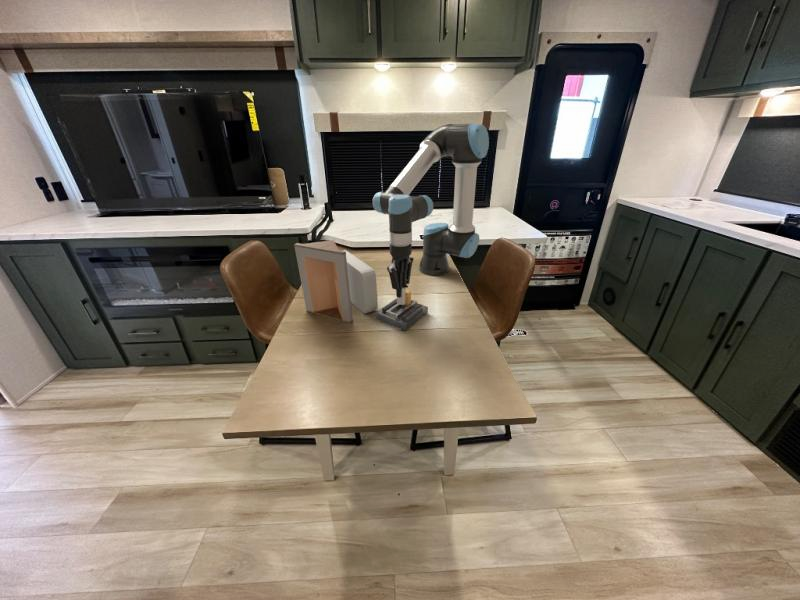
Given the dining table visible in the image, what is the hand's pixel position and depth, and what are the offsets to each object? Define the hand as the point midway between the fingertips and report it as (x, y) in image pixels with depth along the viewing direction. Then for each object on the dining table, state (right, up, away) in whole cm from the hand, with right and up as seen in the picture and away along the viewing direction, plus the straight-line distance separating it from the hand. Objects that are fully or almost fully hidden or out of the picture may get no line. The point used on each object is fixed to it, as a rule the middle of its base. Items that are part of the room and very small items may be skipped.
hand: (401, 303), depth 117 cm
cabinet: (-26, -4, +7) cm, 28 cm away
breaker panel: (0, -5, +3) cm, 6 cm away
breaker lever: (+2, -1, +4) cm, 5 cm away
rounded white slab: (-19, +1, +16) cm, 25 cm away
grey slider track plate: (+1, -3, +2) cm, 3 cm away
